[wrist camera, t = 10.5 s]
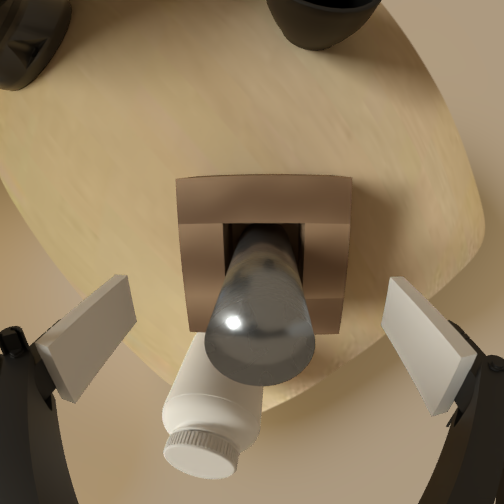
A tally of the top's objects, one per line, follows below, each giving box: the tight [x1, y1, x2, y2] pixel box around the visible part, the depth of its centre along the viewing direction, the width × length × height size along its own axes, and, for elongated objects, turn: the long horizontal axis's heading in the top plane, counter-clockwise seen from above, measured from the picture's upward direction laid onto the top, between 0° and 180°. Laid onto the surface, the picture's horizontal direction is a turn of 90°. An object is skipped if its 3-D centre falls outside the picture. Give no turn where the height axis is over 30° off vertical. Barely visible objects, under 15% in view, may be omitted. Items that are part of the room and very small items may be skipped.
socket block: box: [176, 174, 352, 335], centre depth 22 cm, size 12×12×6 cm
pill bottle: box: [162, 332, 263, 479], centre depth 22 cm, size 8×8×15 cm
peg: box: [204, 223, 315, 386], centre depth 17 cm, size 4×4×14 cm
